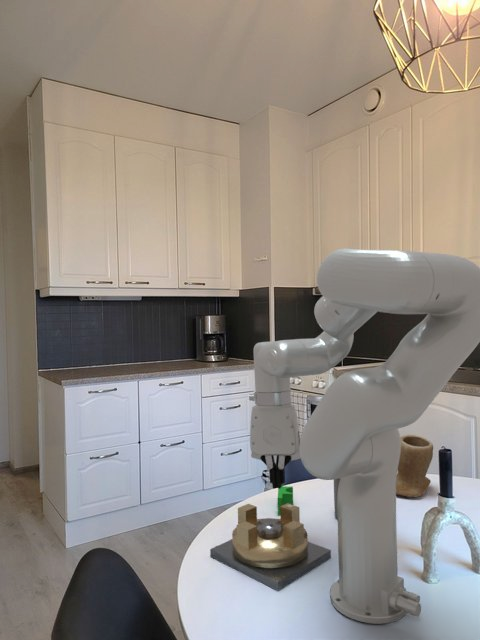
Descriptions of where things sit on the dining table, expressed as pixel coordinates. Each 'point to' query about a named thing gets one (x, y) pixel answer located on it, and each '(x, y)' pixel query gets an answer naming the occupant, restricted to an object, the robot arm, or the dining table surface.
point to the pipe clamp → (284, 496)
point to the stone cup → (413, 465)
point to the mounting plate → (272, 576)
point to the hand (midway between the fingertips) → (277, 486)
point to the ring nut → (269, 538)
